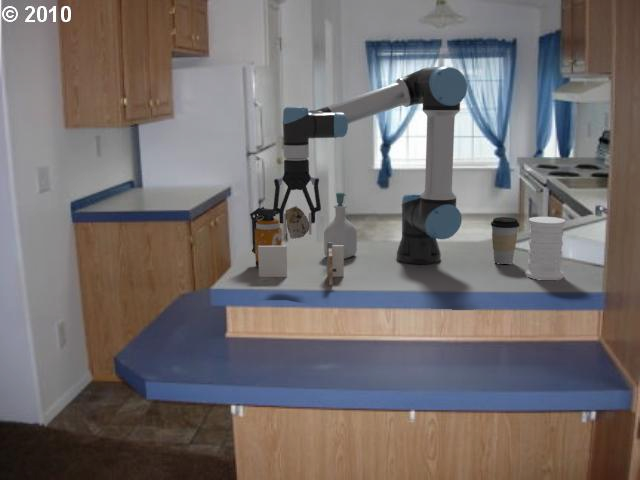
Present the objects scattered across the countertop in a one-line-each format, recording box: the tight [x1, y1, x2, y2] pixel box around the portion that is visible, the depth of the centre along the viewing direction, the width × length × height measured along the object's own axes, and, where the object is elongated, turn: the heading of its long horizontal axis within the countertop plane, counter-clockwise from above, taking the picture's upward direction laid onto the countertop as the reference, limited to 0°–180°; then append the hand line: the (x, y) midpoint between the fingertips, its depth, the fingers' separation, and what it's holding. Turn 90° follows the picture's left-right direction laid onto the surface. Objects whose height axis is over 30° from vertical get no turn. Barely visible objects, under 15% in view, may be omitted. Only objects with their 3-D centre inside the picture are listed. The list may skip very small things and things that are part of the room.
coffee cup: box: [490, 216, 521, 265], centre depth 247 cm, size 9×9×15 cm
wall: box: [258, 242, 345, 278], centre depth 233 cm, size 27×2×11 cm, turn 88°
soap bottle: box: [323, 192, 358, 260], centre depth 258 cm, size 10×10×23 cm
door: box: [328, 248, 336, 286], centre depth 226 cm, size 11×2×9 cm, turn 0°
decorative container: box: [524, 216, 566, 281], centre depth 229 cm, size 12×12×18 cm
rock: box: [285, 205, 309, 240], centre depth 224 cm, size 12×7×10 cm, turn 4°
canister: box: [249, 206, 283, 268], centre depth 247 cm, size 9×11×20 cm
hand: (297, 233), depth 225 cm, fingers closed on rock, 7 cm apart
